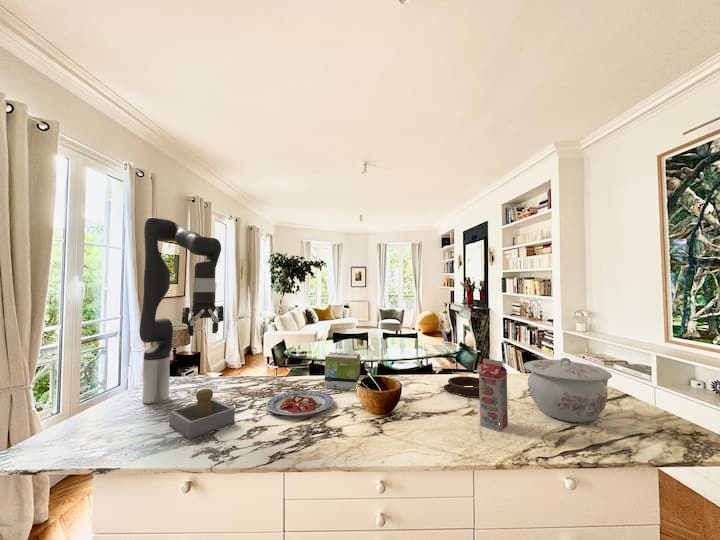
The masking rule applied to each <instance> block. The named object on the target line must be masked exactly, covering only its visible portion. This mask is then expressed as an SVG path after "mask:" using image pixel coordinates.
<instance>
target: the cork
mask: <svg viewBox="0 0 720 540" xmlns="http://www.w3.org/2000/svg"><path fill="white" fill-rule="evenodd" d="M195 395H196V396H195V399H196V400H197V402H198V403H197V402H196V403H197V409H196V416H195V420H197V419H200V418H203V417H206V416H209V415H213V411H212V403H211V399H213V395H214V392H213V390H212V389H211V388H200V390H198V391H197V392H196V394H195Z"/></svg>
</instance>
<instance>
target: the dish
mask: <svg viewBox="0 0 720 540" xmlns="http://www.w3.org/2000/svg"><path fill="white" fill-rule="evenodd" d="M464 386H473V387H464ZM443 390H444V391H445V392H450V393H454V394H456V393H457V394H456V395H458V394H461V395H465V396H464V397H466V396H479V377H474V376H453V377H449V378H448V379H447V384H444V385H443ZM461 395H460V396H461Z"/></svg>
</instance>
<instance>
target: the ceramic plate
mask: <svg viewBox="0 0 720 540" xmlns="http://www.w3.org/2000/svg"><path fill="white" fill-rule="evenodd" d="M333 404H334V398H333V397H332V396H331V395H330V394H327V393H324V392H322V391H321V392H320V391H316V390H298V391H297V390H295V391H288V392H285V393H280V394H278V395H275V396H273V397H271V398H270V399H268V401H266V404H265V407H266V409H267V410H268V411H270V412H271V413H274V414H276V415H281V416H290V417H291V416H292V417H293V416H306V415H307V416H308V415H313V414H316V413H320V412H323V411H325V410H327V409H329V408H330V407H331V406H332V405H333Z"/></svg>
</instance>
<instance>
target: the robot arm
mask: <svg viewBox="0 0 720 540" xmlns="http://www.w3.org/2000/svg"><path fill="white" fill-rule="evenodd" d="M143 230H144V231H143V233H144V234H143V235H144V237H143V238H144V250H145V251H144V252H145V253H144V254H145V255H144V272H143V295H142V296H143V297H142V310H141V316H140V323H139V338H140V340H141V341H142V342H143V343H144V344H149V343H155V344H154V345H153V346H152V347H151V348H149V349H147V350H146V351H145V352H143V373H142V374H143V377H142V403H143V404H156V403H160V402H161V403H163V402H164V401H166V400H168V399H169V396H170V371H171V370H170V367H171V366H170V365H171V363H170V362H171V352H172V348H173V347H172V346H173V333H174V327H173V323H172V320H170V318H156V315H157V311H158V307H159V306H160V303H161V302H162V301H163V299H164V298H165V297H166V295H167V293H168V292H169V289H170V285H171V284H170V283H171V272H170V269H169V267H168V264H167V262H166V261H165V260H164V258H163V256H162V255H161V253H160V249H159V241H160V242H161V241H163V242H176V244H177V245H178V246H180V247H181V248H184V249H186V250H188V251H189V252H190V253H191V254H192V255H195V256H205V257H206V258H205V260H203V261H200V262H196V263H195V265H194V275H193V277H194V278H193V279H194V280H193V284H192V286H193V287H192V306H191V307H189V306H188V307H187V306H184V307H182V316H181V324H183V325H186V326H187V330H186V331H187V332H186V333H187V335H188V336H189V337H194V332H195V331H194V329H195V328H194V324H195V323H196V322H197V321H199V319H205V318H206V319H210V320H211V321H212V323H211V324H212V325H211V326H212V327H211V332H212V334H217V333H218V332H219V323H220V322H224V306H223V305H219V304H218V305H216V293H217V292H216V290H217V289H216V284H217V283H216V268H217V265H218V262H219V258H220V255H221V252H222V244H221V241H220V240H219V239H218V238H215V237H210V236H209V237H208V236H203V235H201V234H200V233H197V232H194V231H191V230H189V229H186V228H183V227H182V226H180V225H179V224H177V223H176V222H175V221H173V220H171V219H165V218H159V217H156V216H155V217H152V216H149V217H148V218H147V219H146V220H145V223H144V228H143ZM215 311H216V314H215ZM191 312H192V315H191V316H190V313H191ZM189 317H190V318H189Z"/></svg>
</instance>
